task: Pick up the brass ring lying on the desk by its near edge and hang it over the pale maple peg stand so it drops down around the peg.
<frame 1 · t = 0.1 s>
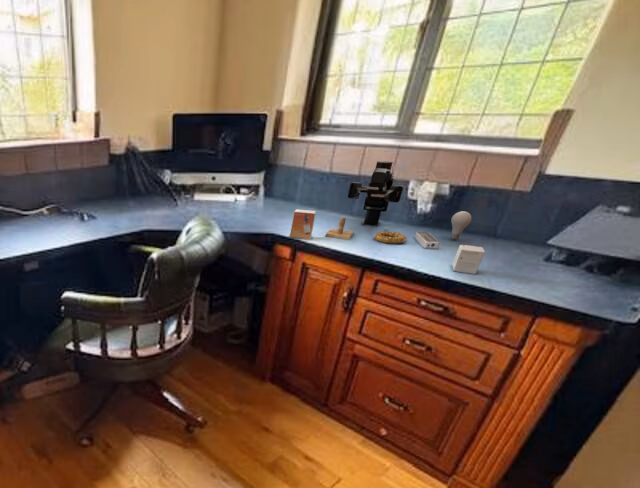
hand: (371, 195, 162), 17 cm above the table, tool horizontal, fingers open, 9 cm apart
small box: (300, 237, 173), on the table
product box: (463, 270, 136), on the table
ring: (390, 237, 166), point 1 cm above the table
multiport hub: (425, 243, 162), on the table
peg stand: (339, 235, 174), on the table
lightbulb: (453, 240, 165), on the table
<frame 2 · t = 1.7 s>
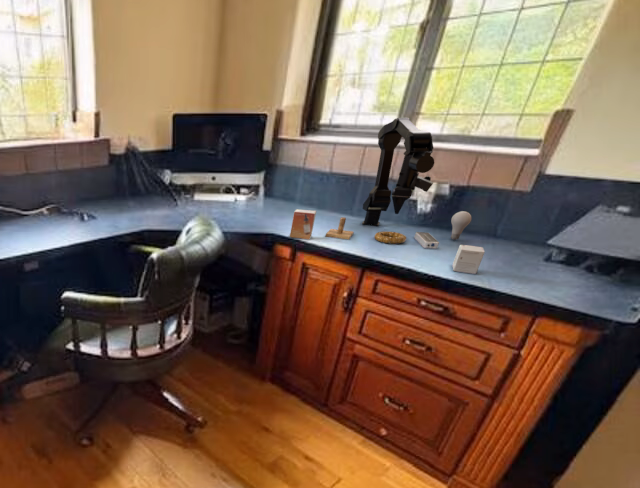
hand: (397, 211, 164), 10 cm above the table, tool pointing down, fingers open, 9 cm apart
nothing on the table moved.
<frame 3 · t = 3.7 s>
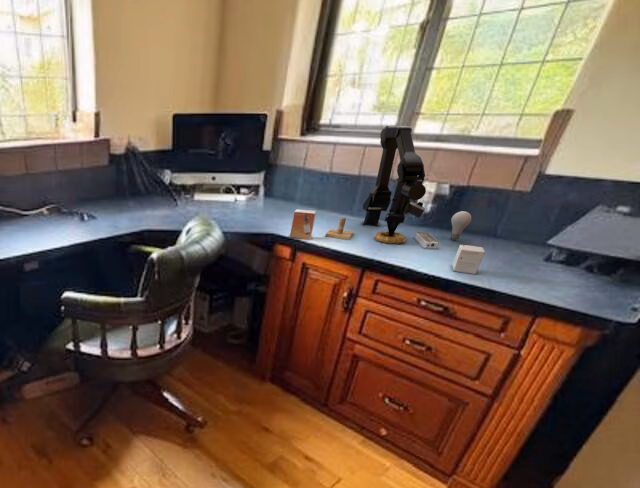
hand: (391, 235, 169), 1 cm above the table, tool pointing down, fingers closed on ring, 2 cm apart
ring: (390, 237, 166), point 1 cm above the table, touching gripper
everything else where it was.
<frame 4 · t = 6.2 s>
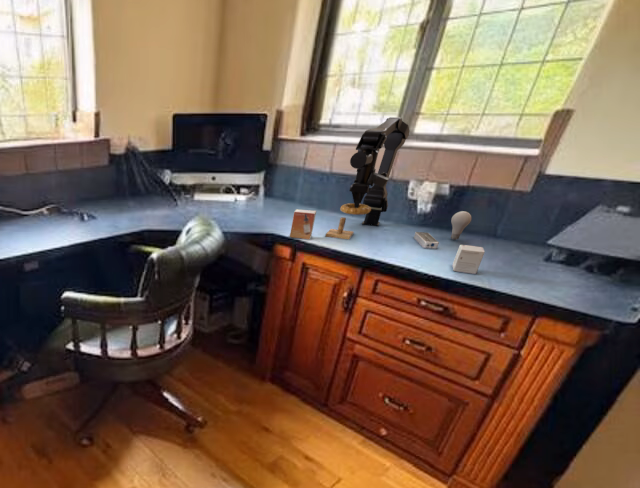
hand: (357, 207, 170), 11 cm above the table, tool pointing down, fingers closed on ring, 2 cm apart
ring: (355, 208, 167), point 11 cm above the table, touching gripper
everything else where it was.
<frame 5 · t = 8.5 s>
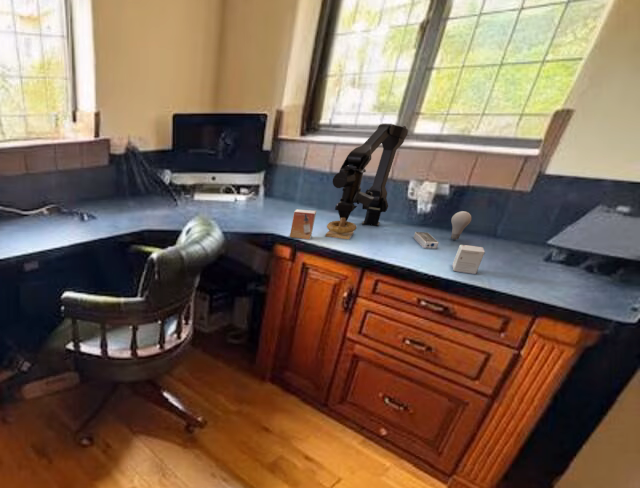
hand: (343, 224, 175), 4 cm above the table, tool pointing down, fingers closed on ring, 2 cm apart
ring: (341, 226, 172), point 4 cm above the table, touching gripper
everything else where it was.
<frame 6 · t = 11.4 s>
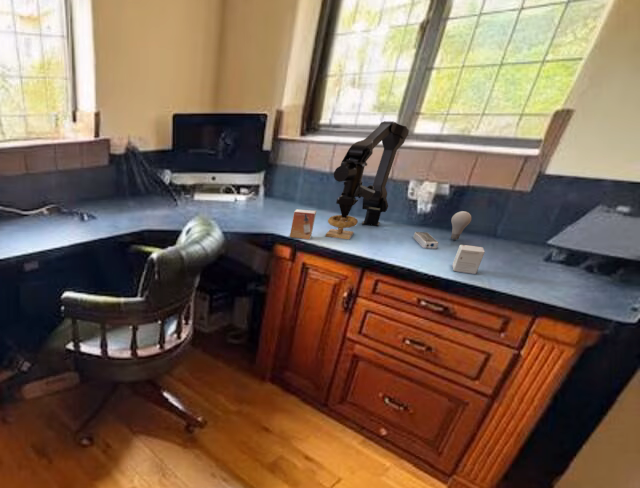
hand: (344, 218, 174), 6 cm above the table, tool pointing down, fingers closed on ring, 2 cm apart
ring: (342, 221, 171), point 6 cm above the table, touching gripper
everything else where it was.
when the fingers open (6 cm above the table, at t = 13.5 s): ring drops 4 cm, resting on peg stand.
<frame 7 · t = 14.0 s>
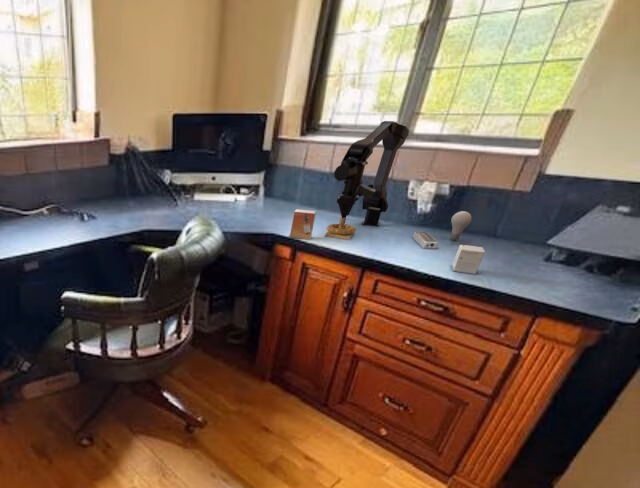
hand: (345, 217, 174), 7 cm above the table, tool pointing down, fingers open, 6 cm apart
ring: (341, 229, 173), point 2 cm above the table, touching peg stand
everything else where it was.
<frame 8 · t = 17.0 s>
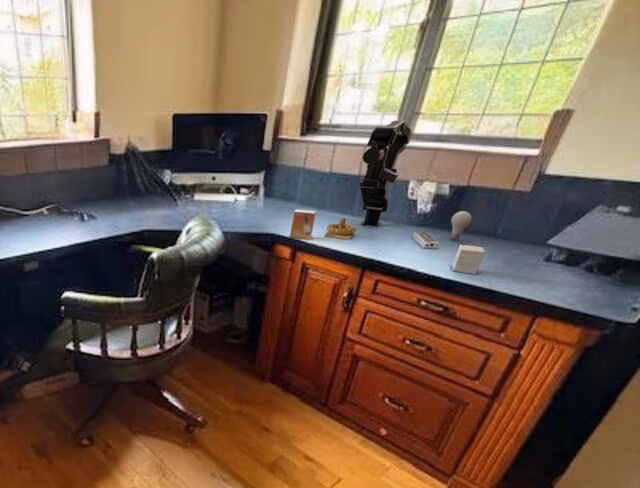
hand: (366, 202, 173), 12 cm above the table, tool pointing down, fingers open, 9 cm apart
nothing on the table moved.
at the end: ring 0.8 cm off-centre on the peg stand, point 2.4 cm above the peg stand's base; the gripper is holding nothing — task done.
